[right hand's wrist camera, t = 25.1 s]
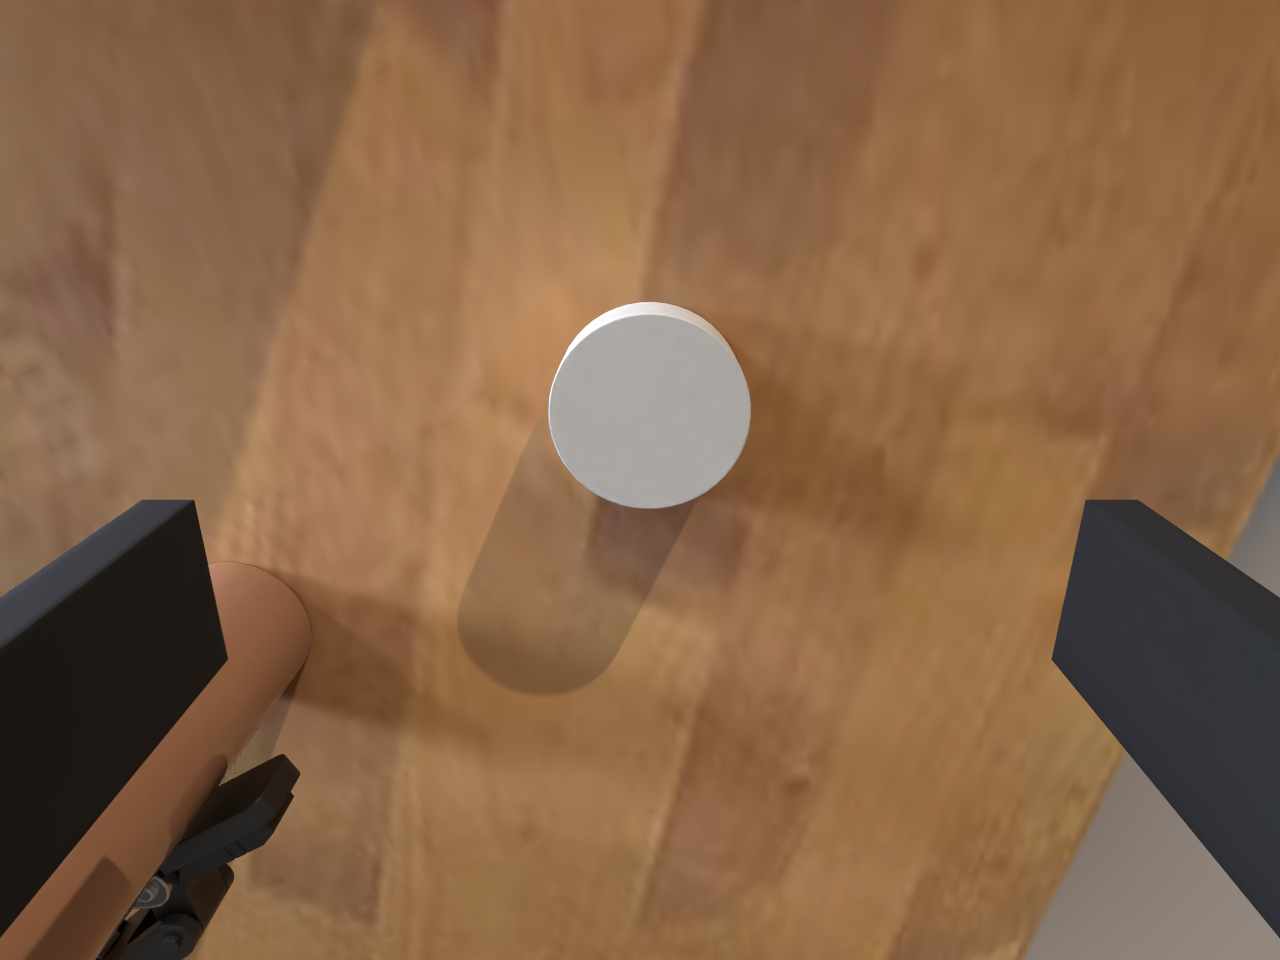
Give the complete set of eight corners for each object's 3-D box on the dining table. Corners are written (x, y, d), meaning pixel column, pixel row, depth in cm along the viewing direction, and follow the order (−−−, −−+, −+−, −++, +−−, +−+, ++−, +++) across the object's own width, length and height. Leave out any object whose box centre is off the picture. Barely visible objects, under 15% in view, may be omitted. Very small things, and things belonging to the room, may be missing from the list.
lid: (749, 305, 24) (759, 317, 22) (735, 486, 26) (742, 513, 24) (556, 298, 24) (548, 309, 22) (555, 479, 26) (548, 505, 24)
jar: (246, 712, 29) (-155, 1249, 15) (136, 616, 28) (-426, 1103, 13) (342, 635, 28) (13, 1134, 13) (232, 533, 27) (-265, 962, 12)
